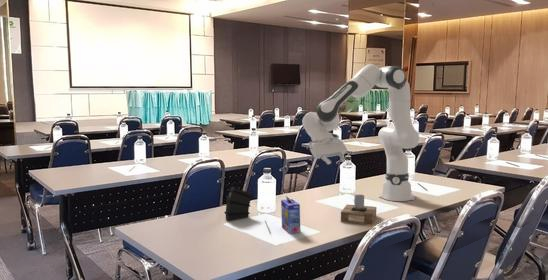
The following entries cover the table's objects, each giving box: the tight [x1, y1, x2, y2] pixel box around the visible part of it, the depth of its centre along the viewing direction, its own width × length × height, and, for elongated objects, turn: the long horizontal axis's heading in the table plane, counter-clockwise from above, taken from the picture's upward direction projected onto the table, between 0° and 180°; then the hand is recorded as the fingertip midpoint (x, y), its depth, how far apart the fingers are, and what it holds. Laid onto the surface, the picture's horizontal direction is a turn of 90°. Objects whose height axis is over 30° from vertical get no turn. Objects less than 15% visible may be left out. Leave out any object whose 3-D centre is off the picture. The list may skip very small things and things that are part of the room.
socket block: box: [340, 204, 377, 226], centre depth 208 cm, size 14×14×4 cm
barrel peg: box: [353, 194, 365, 212], centre depth 208 cm, size 4×4×11 cm
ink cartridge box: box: [280, 196, 301, 234], centre depth 193 cm, size 10×6×14 cm, turn 18°
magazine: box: [224, 186, 254, 222], centre depth 211 cm, size 4×13×15 cm, turn 122°
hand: (336, 162), depth 217 cm, fingers open, 8 cm apart
